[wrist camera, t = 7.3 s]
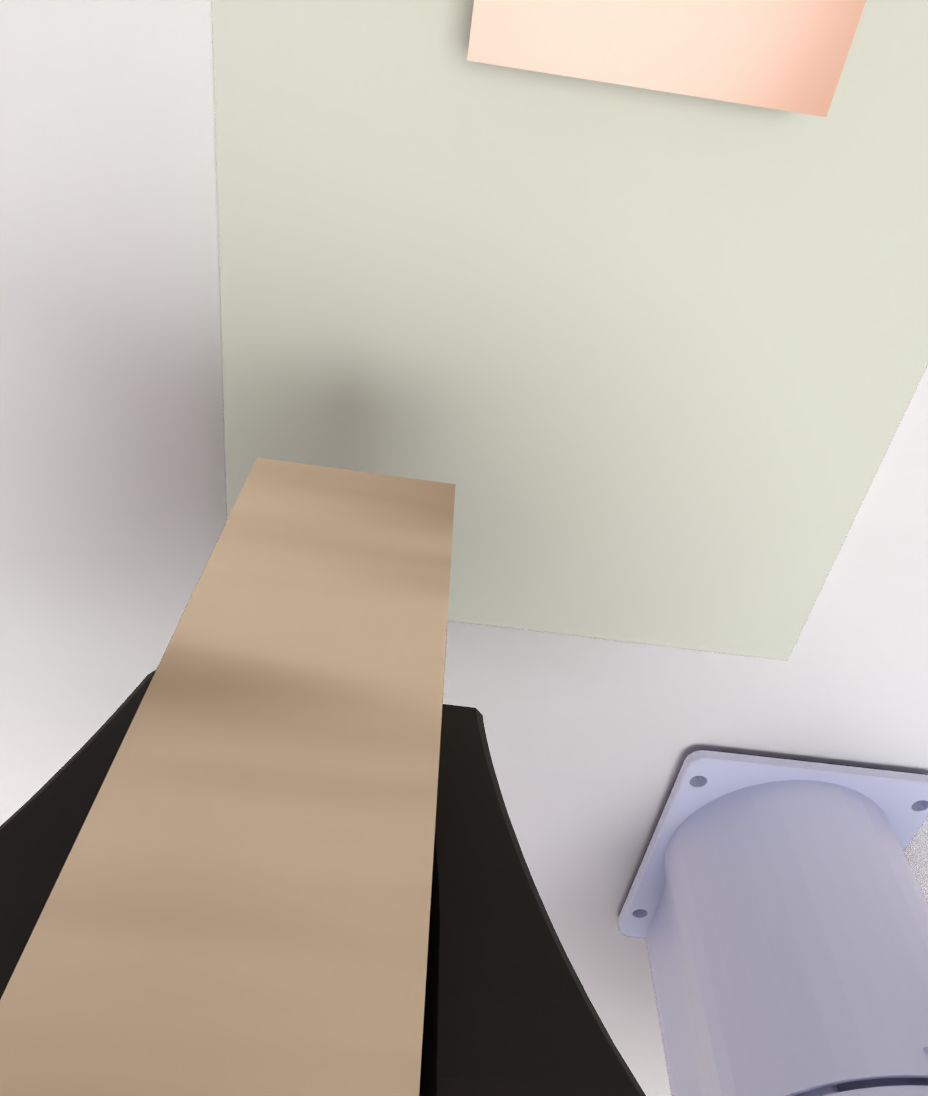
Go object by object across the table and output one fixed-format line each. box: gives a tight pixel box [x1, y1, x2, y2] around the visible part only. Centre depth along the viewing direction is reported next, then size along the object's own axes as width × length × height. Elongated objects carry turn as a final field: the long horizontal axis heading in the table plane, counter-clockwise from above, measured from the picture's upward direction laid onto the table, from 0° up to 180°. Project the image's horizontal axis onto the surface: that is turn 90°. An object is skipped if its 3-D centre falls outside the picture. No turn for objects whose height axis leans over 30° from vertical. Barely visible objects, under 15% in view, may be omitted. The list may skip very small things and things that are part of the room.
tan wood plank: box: [0, 457, 456, 1096], centre depth 10 cm, size 5×3×9 cm, turn 172°
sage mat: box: [212, 0, 928, 661], centre depth 16 cm, size 22×15×1 cm
